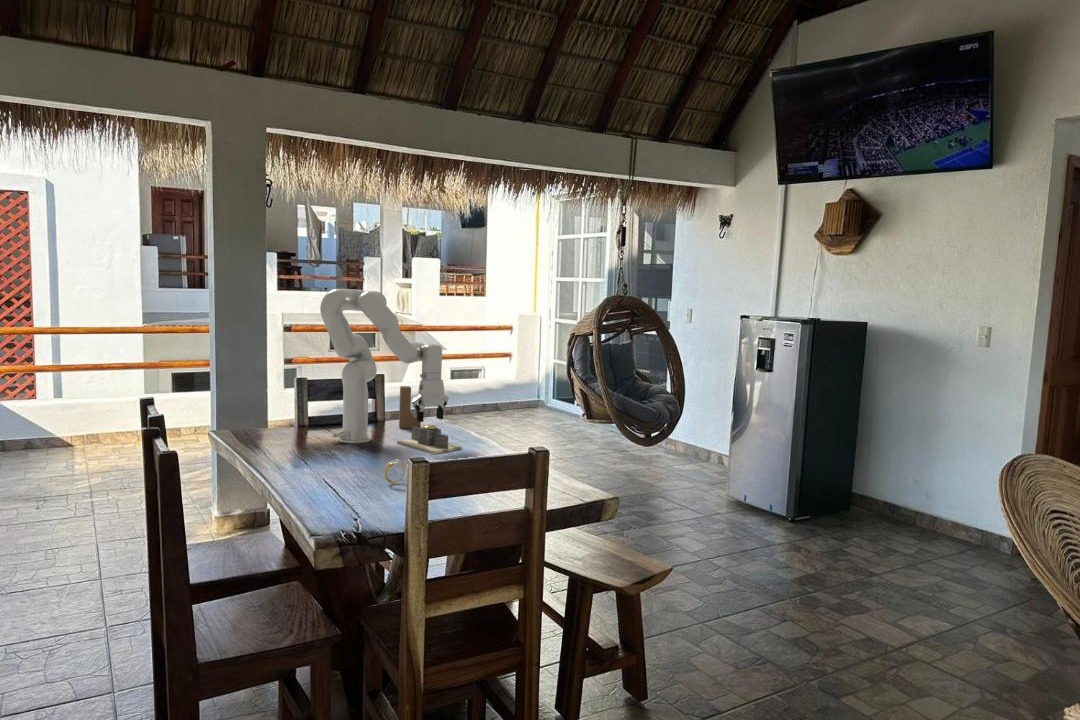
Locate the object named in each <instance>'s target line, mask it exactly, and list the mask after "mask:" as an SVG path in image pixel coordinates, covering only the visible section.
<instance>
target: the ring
mask: <svg viewBox="0 0 1080 720" xmlns="http://www.w3.org/2000/svg"><path fill="white" fill-rule="evenodd" d="M402 461H403V460H402V459H399V458H394V459H391V461H389V462H387V464H386V466H385V468H384V471H383V474H384V478H385V480H386V481H387V482H389V483H390V484H392V485H393V484H394V485H397V484H400V483H402V482H403V481H405V479H406V478H407V475H408V469H407V466H406V464H405V463H403V462H402ZM395 465H400V466H401V467H402V468H403V470H404V473H403V477H402V478H400V479H399V480H396V479H395V480H391V479H390V478H389V477H388V474H387V473H388V470H389V469H391V468H392V467H393V466H395Z"/></svg>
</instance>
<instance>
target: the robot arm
mask: <svg viewBox="0 0 1080 720" xmlns="http://www.w3.org/2000/svg"><path fill="white" fill-rule="evenodd" d="M320 302H321V303H320V306H319V307H320V308H319V309H320V316H321V319H322V321H323V323H324V326H325V328H326V331H327V333H328V336H329V338H330V341H331V344H332V346H333V348H334V349H333V350H334V352H335V353H336V355H337V357H339V358H340V359H345V360H349V362H347V363H346V364H345V365H344V367H343V368H342V371H341V381H342V382H341V383H342V392H343V395H342V402H343V404H342V405H343V406H342V428H341V429H339V431H338V432H331V438H333V439H335V438H338V439H337V440H338V441H339V442H340V443H345V444H365V443H369V442H371V441H372V436H370V435H368V427H369V426H368V425H369V424H368V423H369V421H368V419H369V389H368V382H370V381H373V380H374V379H375V377H376V375H377V364H376V362H375V359H374V356H373V354H372V353H371V350H370V347H369V344H368V343H367V341H366V339H365V338H364V336H361V334H358V333H353V331H352V328H351V327H350V324H349V321H348V319H347V317H345V315H344V312H345V311H356V312H362V313H363V314H364V315H365V316H366V318H367V319H368V320H369V321H370V322H371V324H373V325H374V326H375V328H376V329H377V330H378V331H379V332H380V334H381V337H382V339H383V340H384V343H385V344H386V345H387V347H388V349H390V351H391V352H392V353H393V354H394V355H395V356H396V357H397V359H398V360H399V361H400V362H402V363H405V364H413V363H417V362H418V363H419V362H421V373H420V374H419V378H421V379H420V381H419V385H418V392H417V397H414V398H413V399H411V404H412V405H413V408H414V409H415V411H416V416H417V421H419V422H421V423H423V422H424V419H425V418H424V414H425V413H424V411H423V410H425V408H426V407H429V408H430V407H436V406H437V408H436V419H438V420H442V421H443V420H444V410H445V408H446V406H447V404H448V402H449V399H450V397H449V396H447V395H445V386H444V384H445V383H444V380H443V379H442V368H443V367H442V366H443V347H442V345H440V344H436V343H434V344H433V343H430V344H429V343H422V342H421V343H420V342H410V341H409V340H408V339H407V338H406V337H405V336H404V334H403V333H402V331H401V330H400V327H399V319H398V317H397V315H395V313H393V312H392V310H391V309H390V308H389V306H387V304H388V303H387V298H386V297H385V295H384V294H383V293H382V292H380V291H376V290H364V289H352V288H334V289H332V290H329V291H328V292H327V293H326V294H325V295H324V296H323V298H322V300H321V301H320Z"/></svg>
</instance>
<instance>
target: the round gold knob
mask: <svg viewBox="0 0 1080 720" xmlns="http://www.w3.org/2000/svg"><path fill="white" fill-rule="evenodd" d="M422 428H423V429H425V430H435V429H436V428H438V426H437V425H435V424H424V425H423V426H422Z"/></svg>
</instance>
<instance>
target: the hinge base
mask: <svg viewBox="0 0 1080 720" xmlns="http://www.w3.org/2000/svg"><path fill="white" fill-rule="evenodd" d="M396 443H397V444H398V445H401V446H405V447H408V448H411V449H414V450H418V451H420V452H421V451H422V452H424V453H428V454H431V455H436V454H441V453H447V452H453V451H460V450H462V449H463V448H462V446H461V445H457V444H453V443H449V435H446V434H443V433H442V429H441V428H438V427H437V428H436V429H435V430H425V429H423V427H420V428H417V427H412V429H411V438H410V439H409V438H408V439H402V440H397V442H396Z"/></svg>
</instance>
